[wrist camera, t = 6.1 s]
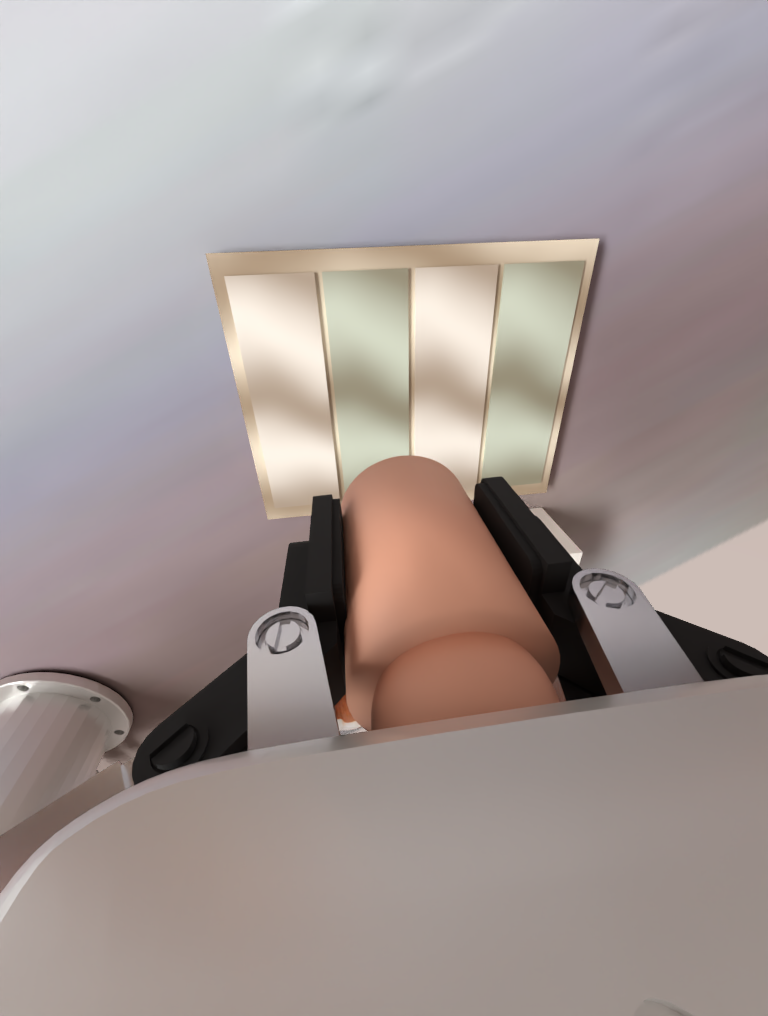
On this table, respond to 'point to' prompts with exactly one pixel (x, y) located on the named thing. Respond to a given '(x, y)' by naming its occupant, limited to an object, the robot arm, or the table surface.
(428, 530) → the peach rounded cylinder
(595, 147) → the table surface
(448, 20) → the table surface
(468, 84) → the table surface
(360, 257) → the game board
